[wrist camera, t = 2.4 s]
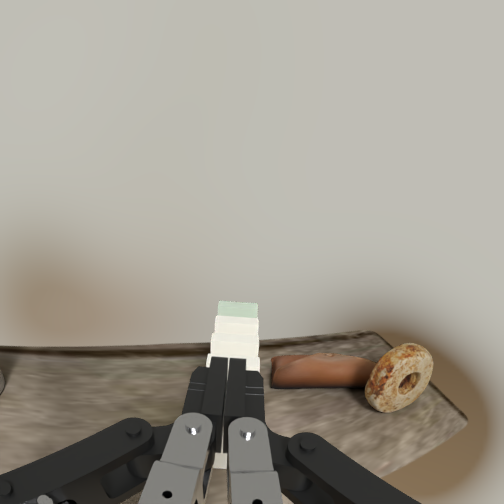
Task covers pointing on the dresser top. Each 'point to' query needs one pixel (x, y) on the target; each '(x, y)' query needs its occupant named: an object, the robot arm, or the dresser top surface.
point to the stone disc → (399, 377)
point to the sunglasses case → (320, 371)
